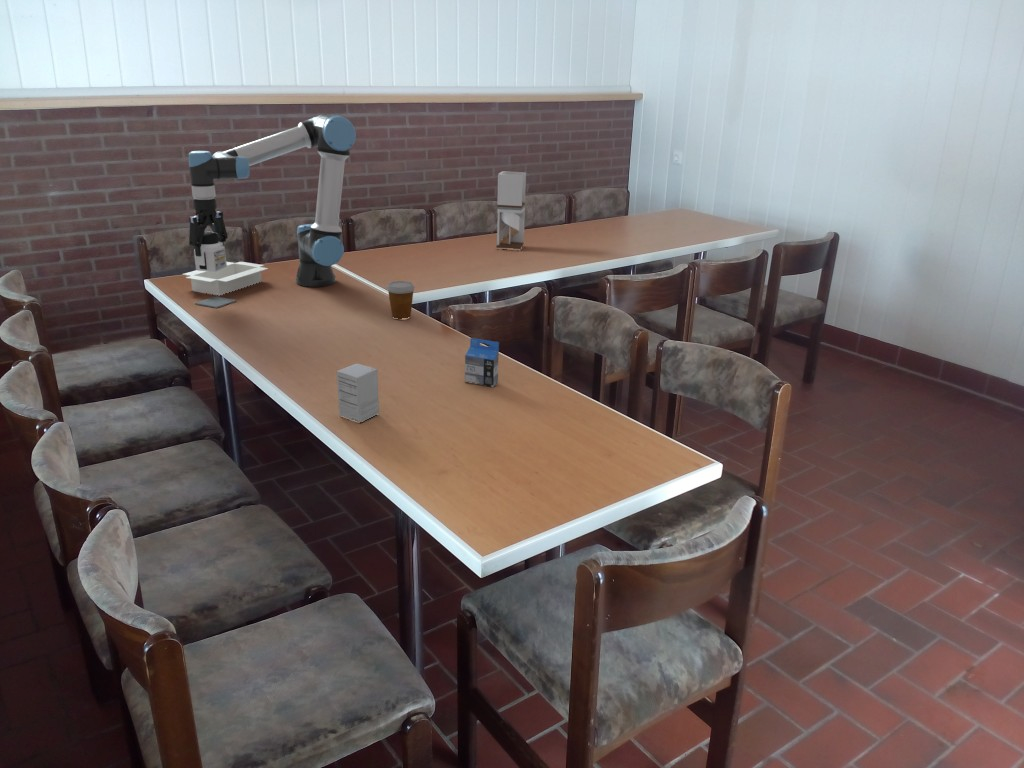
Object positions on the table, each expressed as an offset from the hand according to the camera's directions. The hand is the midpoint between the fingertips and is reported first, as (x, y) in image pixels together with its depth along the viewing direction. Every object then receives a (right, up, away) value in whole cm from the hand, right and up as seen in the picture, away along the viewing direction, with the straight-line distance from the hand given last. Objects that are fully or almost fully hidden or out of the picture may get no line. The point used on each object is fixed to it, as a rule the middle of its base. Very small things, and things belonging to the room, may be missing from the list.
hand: (211, 262), depth 290 cm
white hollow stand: (+106, +22, +102) cm, 149 cm away
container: (0, -2, +1) cm, 3 cm away
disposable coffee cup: (+68, -20, -5) cm, 71 cm away
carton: (-3, -5, +26) cm, 27 cm away
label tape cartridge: (+98, -43, -59) cm, 122 cm away
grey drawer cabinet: (+68, -52, -82) cm, 118 cm away
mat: (0, -14, +6) cm, 15 cm away
